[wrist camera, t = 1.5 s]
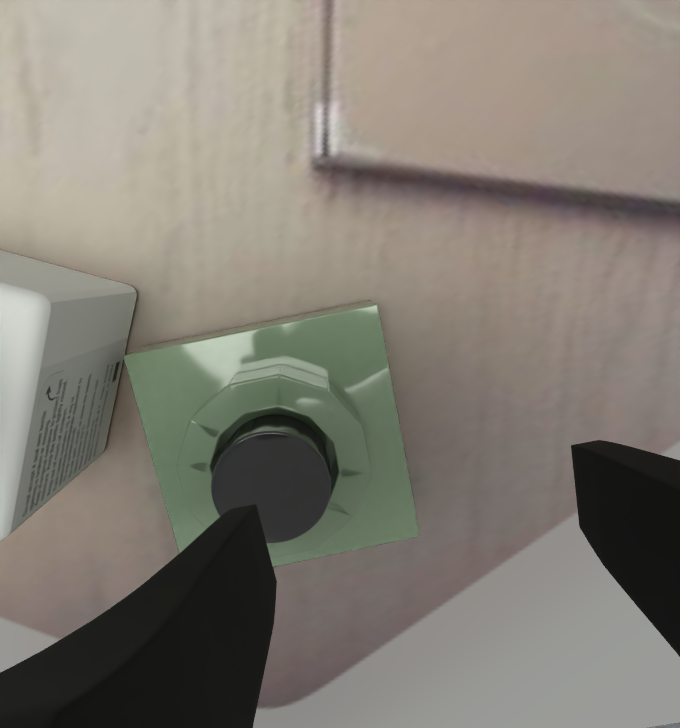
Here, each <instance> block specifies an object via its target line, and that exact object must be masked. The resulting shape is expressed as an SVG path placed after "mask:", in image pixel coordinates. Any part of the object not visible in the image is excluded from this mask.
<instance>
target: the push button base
mask: <svg viewBox="0 0 680 728" xmlns="http://www.w3.org/2000/svg"><path fill="white" fill-rule="evenodd" d="M123 358H124V361H125V365H126V368H127V372H128V375H129V379H130V382H131V386H132V389H133V393H134V396H135V400H136V403H137V407H138V410H139V414H140V417H141V421H142V424H143V428H144V431H145V435H146V438H147V442H148V445H149V449H150V452H151V456H152V459H153V463H154V466H155V470H156V473H157V477H158V480H159V484H160V487H161V491H162V494H163V498H164V501H165V505H166V508H167V512H168V515H169V519H170V522H171V526H172V529H173V533H174V536H175V540H176V543H177V547H178V550H179V554H180V553H181V552H182V551H183V550H184V549H185V548H186V547H187V546H188V545H189V544H191V543H192V542H193V541H194V540H195V539H196V538H197V537H198V536H199V535H200V534H202V533H203V532H204V531H205V530H206V529H207V528H208V527H209V526H210V525H211V524H212V523H214V522H215V521H216V520H217V519H218V518H219V517H220V516H219V514H218V512H217V510H216V508H215V506H214V503H213V499H212V494H211V479H212V474H213V470H214V468H215V465H216V463H217V461H218V459H219V457H220V455H221V453H222V451H223V449H224V447H225V445H226V443H227V442H228V440H229V438H230V437H231V436H232V434H233V433H234V432H235V431H236V430H237V429H238V428H239V427H240V426H242V425H243V424H244V423H246V422H248V421H250V420H252V419H254V418H257V417H260V416H265V415H286V416H290V417H293V418H296V419H299V420H301V421H302V422H304V423H306V424H307V425H309V426H310V427H311V428H312V429H313V430H315V431H316V432H317V434H318V435H319V436H320V437H321V439H322V441H323V442H324V444H325V447H326V449H327V452H328V456H329V463H330V476H331V495H330V500H329V503H328V506H327V508H326V511H325V512H324V514H323V516H322V517H321V519H320V520H319V521H318V522H317V524H316V525H315V526H313V527H312V528H311V529H310V530H309V531H307V532H306V533H305V534H303V535H301V536H299V537H297V538H295V539H292V540H289V541H285V542H280V543H267V547H268V551H269V555H270V558H271V562H272V566H273V567H275V566H280V565H285V564H289V563H294V562H299V561H304V560H309V559H313V558H318V557H323V556H328V555H333V554H337V553H342V552H347V551H352V550H357V549H361V548H366V547H371V546H376V545H380V544H385V543H390V542H395V541H400V540H404V539H409V538H414V537H419V536H420V533H419V527H418V522H417V516H416V511H415V505H414V500H413V494H412V489H411V483H410V478H409V473H408V467H407V462H406V456H405V451H404V445H403V440H402V434H401V429H400V423H399V418H398V412H397V407H396V401H395V396H394V390H393V385H392V380H391V374H390V369H389V363H388V358H387V352H386V347H385V341H384V336H383V330H382V325H381V319H380V314H379V308H378V305H377V304H376V303H374V302H372V301H370V300H369V301H364V302H359V303H354V304H349V305H344V306H340V307H335V308H330V309H325V310H320V311H315V312H310V313H305V314H300V315H295V316H290V317H285V318H280V319H275V320H271V321H266V322H261V323H256V324H251V325H246V326H241V327H236V328H231V329H226V330H221V331H216V332H211V333H206V334H202V335H197V336H192V337H187V338H182V339H177V340H172V341H167V342H162V343H157V344H152V345H147V346H144V347H142V348H139V349H137V350H135V351H133V352H130V353H128V354H126V355H124V356H123Z"/></svg>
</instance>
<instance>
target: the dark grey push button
mask: <svg viewBox="0 0 680 728" xmlns="http://www.w3.org/2000/svg"><path fill="white" fill-rule="evenodd" d="M211 494H212V499H213V503H214V506H215V508H216V510H217V512H218V514H219V516H222V515H223V514H224V513H225V512H227V511H228V510H230V509H233V508H238V507H244V506H249V505H254V504H256V505H257V509H258V513H259V517H260V520H261V524H262V528H263V532H264V536H265V539H266V543H280V542H285V541H289V540H292V539H295V538H297V537H299V536H301V535H303V534H305V533H306V532H307V531H309V530H310V529H311V528H312V527H313V526H315V525H316V524H317V522H318V521H319V520H320V519H321V517H322V516H323V514H324V512H325V511H326V508H327V506H328V503H329V500H330V495H331V476H330V463H329V456H328V452H327V449H326V447H325V444H324V442H323V441H322V439H321V437H320V436H319V435H318V434H317V432H316V431H315V430H313V429H312V428H311V427H310V426H309V425H307V424H306V423H304V422H302V421H301V420H299V419H296V418H293V417H290V416H286V415H265V416H260V417H257V418H254V419H252V420H250V421H248V422H246V423H244V424H243V425H242V426H240V427H239V428H238V429H237V430H236V431H235V432H234V433H233V434H232V436H231V437H230V438H229V440H228V442H227V443H226V445H225V447H224V449H223V451H222V453H221V455H220V457H219V459H218V461H217V463H216V465H215V468H214V470H213V474H212V479H211Z"/></svg>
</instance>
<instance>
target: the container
mask: <svg viewBox="0 0 680 728" xmlns="http://www.w3.org/2000/svg"><path fill="white" fill-rule="evenodd" d="M136 297H137V293H136V291H135V289H134V288H133V287H131V286H130V285H127V284H124V283H120V282H116V281H113V280H109V279H105V278H102V277H98V276H94V275H90V274H87V273H83V272H79V271H76V270H72V269H68V268H65V267H61V266H57V265H54V264H50V263H46V262H43V261H39V260H35V259H32V258H28V257H24V256H21V255H17V254H13V253H10V252H6V251H2V250H0V540H1V539H3V538H5V537H7V536H8V535H10V534H11V533H12V532H13V531H14V530H15V529H16V528H18V527H19V526H20V525H21V524H22V523H23V522H25V521H26V520H27V519H28V518H29V517H30V516H31V515H33V514H34V513H35V512H36V511H37V510H38V509H39V508H41V507H42V506H43V505H44V504H45V503H46V502H48V501H49V500H50V499H51V498H52V497H53V496H54V495H56V494H57V493H58V492H59V491H60V490H61V489H62V488H64V487H65V486H66V485H67V484H68V483H69V482H71V481H72V480H73V479H74V478H75V477H76V476H77V475H79V474H80V473H81V472H82V471H83V470H84V469H85V468H87V467H88V466H89V465H90V464H91V463H92V462H94V461H95V460H96V459H97V458H98V457H99V456H100V455H102V453H103V451H104V449H105V445H106V440H107V435H108V430H109V426H110V421H111V416H112V411H113V407H114V402H115V397H116V392H117V388H118V383H119V378H120V373H121V369H122V364H123V359H124V358H123V356H124V354H125V350H126V345H127V340H128V335H129V331H130V326H131V321H132V316H133V312H134V307H135V302H136Z"/></svg>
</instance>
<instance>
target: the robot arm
mask: <svg viewBox="0 0 680 728" xmlns="http://www.w3.org/2000/svg"><path fill="white" fill-rule="evenodd" d="M571 450H572V459H573V469H574V478H575V488H576V497H577V507H578V516H579V526H580V528H581V530H582V532H583V533H584V535H585V537H586V538H587V540H588V542H589V543H590V545H591V547H592V548H593V549H594V551H595V553H596V554H597V556H598V557H599V559H600V560H601V562H602V563H603V565H604V566H605V568H606V569H607V570H608V571H609V572H610V574H611V575H612V576H613V577H614V578H615V580H616V581H617V582H618V583H619V585H620V586H621V587H622V588H623V589H624V591H625V592H626V593H627V594H628V595H629V596H630V598H631V599H632V600H633V601H634V603H635V604H636V605H637V606H638V607H639V609H640V610H641V611H642V612H643V613H644V614H645V616H646V617H647V618H648V619H649V620H650V622H651V623H652V624H653V625H654V626H655V628H656V629H657V630H658V631H659V632H660V633H661V635H662V636H663V637H664V638H665V639H666V641H667V642H668V643H669V644H670V645H671V647H672V648H673V649H674V650H675V651H676V652H677V654H678V655H679V656H680V460H676V459H672V458H669V457H665V456H662V455H658V454H655V453H651V452H647V451H644V450H640V449H637V448H633V447H629V446H625V445H621V444H617V443H613V442H608V441H601V440H597V441H592V442H586V443H581V444H576V445H571ZM276 583H277V581H276V577H275V573H274V570H273V566H272V562H271V558H270V555H269V551H268V547H267V543H266V539H265V536H264V532H263V528H262V524H261V520H260V517H259V513H258V509H257V505H256V504H254V505H249V506H244V507H238V508H233V509H230V510H228V511H227V512H225V513H224V514H223V515H222V516H220V517H219V518H218V519H217V520H216V521H215V522H214V523H212V524H211V525H210V526H209V527H208V528H207V529H206V530H205V531H204V532H203V533H202V534H200V535H199V536H198V537H197V538H196V539H195V540H194V541H193V542H192V543H191V544H189V545H188V546H187V547H186V548H185V549H184V550H183V551H182V552H181V553H180V554H178V555H177V556H176V557H175V558H174V559H173V560H171V561H170V562H169V563H168V564H167V565H165V566H164V567H163V568H162V569H161V570H159V571H158V572H157V573H156V574H155V575H153V576H152V577H151V578H150V579H149V580H147V581H146V582H145V583H144V584H143V585H141V586H140V587H139V588H137V589H136V590H135V591H134V592H132V593H131V594H130V595H128V596H127V597H126V598H124V599H123V600H121V601H120V602H119V603H117V604H116V605H114V606H113V607H111V608H110V609H109V610H107V611H106V612H104V613H103V614H101V615H100V616H98V617H97V618H95V619H94V620H92V621H91V622H89V623H87V624H86V625H84V626H82V627H81V628H79V629H77V630H76V631H74V632H73V633H71V634H69V635H68V636H66V637H64V638H63V639H61V640H59V641H58V642H56V643H54V644H53V645H51V646H49V647H48V648H46V649H44V650H43V651H41V652H39V653H37V654H35V655H33V656H32V657H30V658H28V659H26V660H24V661H22V662H20V663H18V664H17V665H15V666H13V667H11V668H9V669H7V670H5V671H3V672H1V673H0V728H253V722H254V717H255V713H256V708H257V703H258V698H259V694H260V689H261V684H262V679H263V674H264V670H265V665H266V660H267V655H268V650H269V645H270V640H271V635H272V630H273V624H274V614H275V601H276ZM649 728H680V723H674V724H668V725H662V726H655V727H649Z"/></svg>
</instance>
